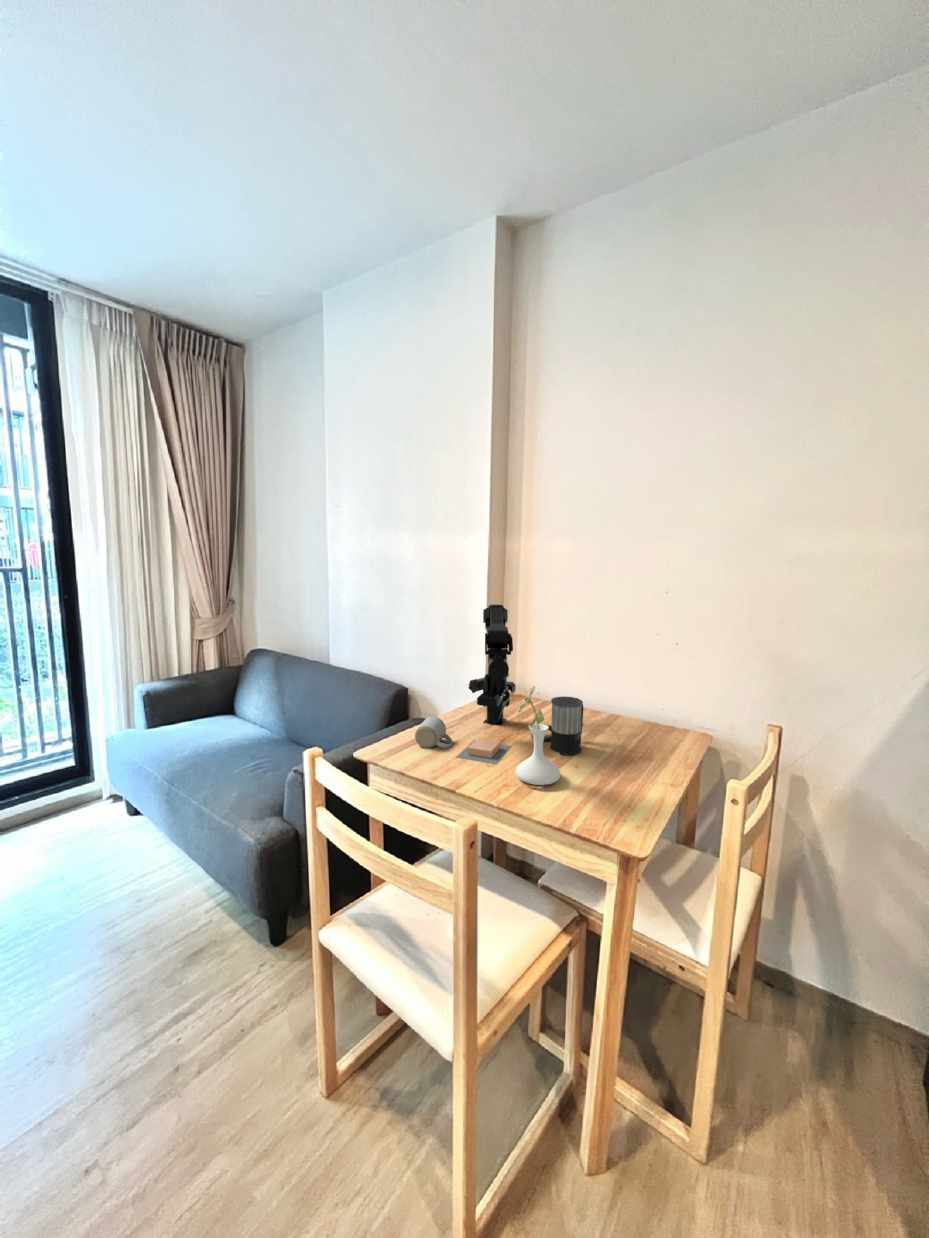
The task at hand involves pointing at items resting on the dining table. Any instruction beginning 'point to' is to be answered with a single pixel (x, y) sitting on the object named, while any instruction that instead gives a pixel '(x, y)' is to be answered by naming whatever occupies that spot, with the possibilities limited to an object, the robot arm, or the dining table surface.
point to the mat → (493, 760)
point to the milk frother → (566, 725)
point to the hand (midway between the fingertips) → (496, 720)
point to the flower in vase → (537, 753)
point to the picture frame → (484, 747)
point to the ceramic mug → (432, 733)
